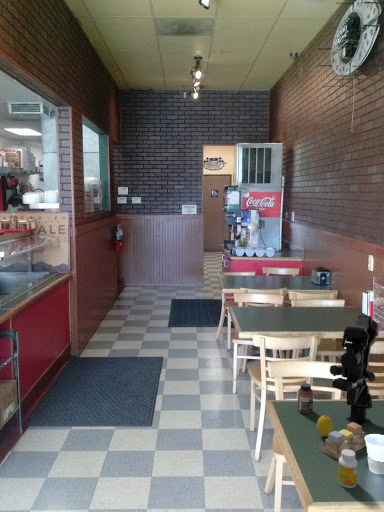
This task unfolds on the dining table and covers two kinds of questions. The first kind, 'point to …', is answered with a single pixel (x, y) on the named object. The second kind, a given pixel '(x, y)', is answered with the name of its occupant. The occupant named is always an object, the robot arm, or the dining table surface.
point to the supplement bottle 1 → (305, 399)
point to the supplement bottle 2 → (347, 469)
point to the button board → (344, 445)
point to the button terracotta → (354, 428)
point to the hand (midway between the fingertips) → (353, 402)
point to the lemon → (324, 425)
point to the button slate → (336, 437)
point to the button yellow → (346, 434)
